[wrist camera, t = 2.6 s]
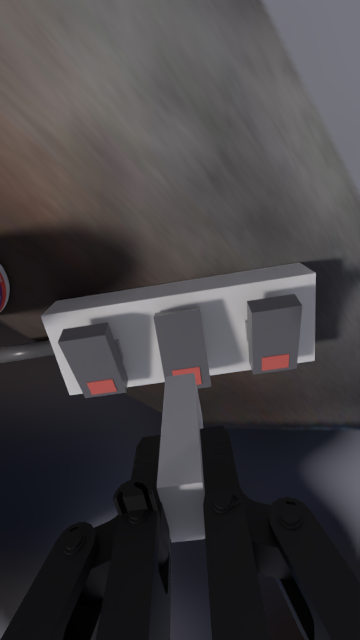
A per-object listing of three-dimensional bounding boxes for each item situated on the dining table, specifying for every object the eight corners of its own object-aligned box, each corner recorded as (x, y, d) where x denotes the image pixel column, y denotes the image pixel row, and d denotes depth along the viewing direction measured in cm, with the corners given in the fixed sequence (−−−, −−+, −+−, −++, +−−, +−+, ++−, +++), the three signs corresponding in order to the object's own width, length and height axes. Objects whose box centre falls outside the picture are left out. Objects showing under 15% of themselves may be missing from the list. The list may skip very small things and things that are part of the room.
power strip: (-18, 312, 33) (-47, 332, 29) (299, 262, 31) (319, 275, 27) (14, 383, 36) (-8, 410, 32) (299, 341, 35) (317, 364, 30)
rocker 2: (155, 312, 28) (153, 316, 26) (199, 306, 28) (200, 309, 26) (168, 384, 30) (166, 393, 28) (210, 378, 29) (211, 387, 28)
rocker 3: (246, 301, 26) (251, 313, 25) (294, 293, 26) (302, 306, 25) (248, 361, 30) (253, 375, 29) (290, 355, 30) (296, 369, 29)
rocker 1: (63, 329, 27) (57, 342, 26) (108, 322, 27) (104, 335, 26) (89, 384, 31) (85, 398, 30) (128, 378, 31) (126, 392, 30)
